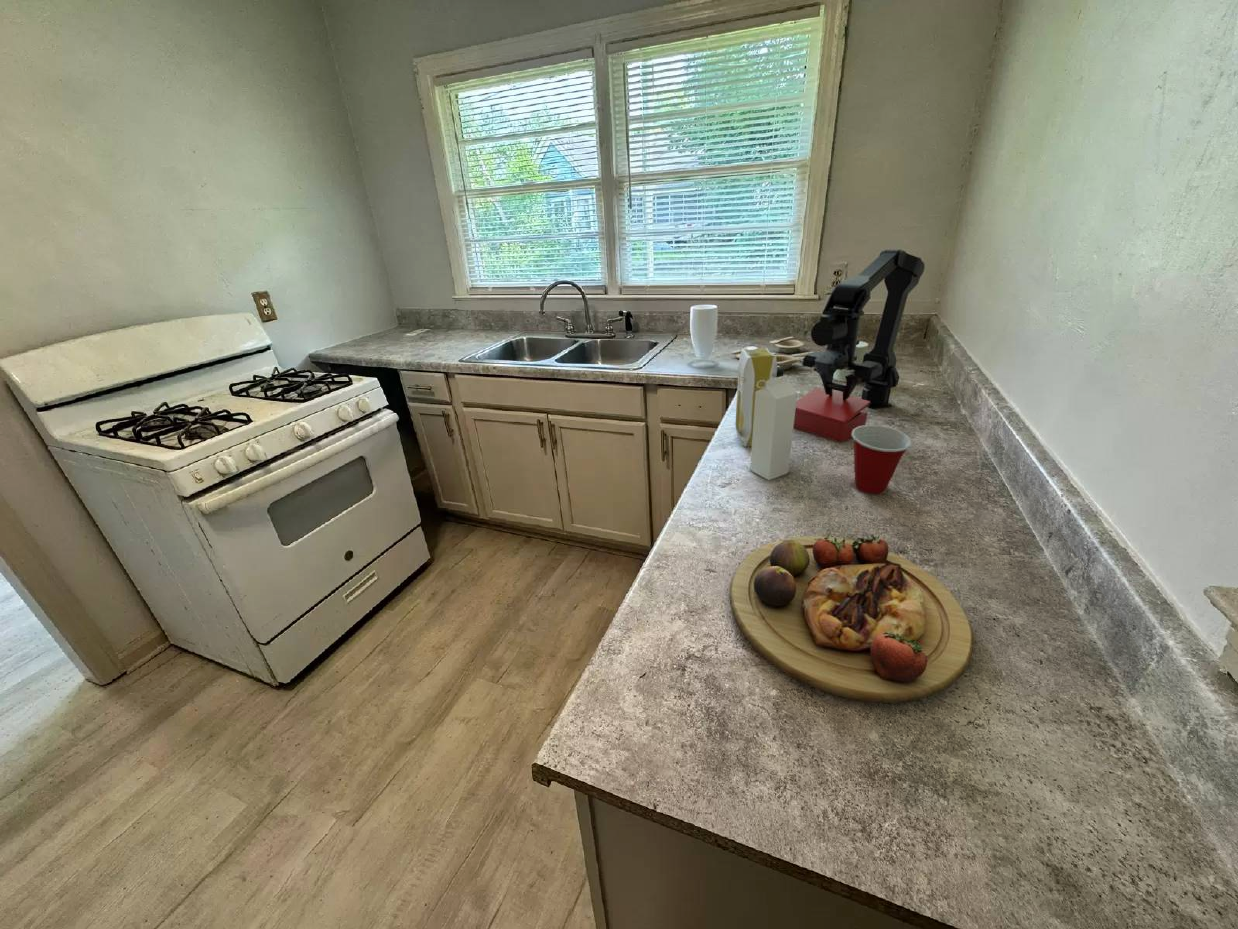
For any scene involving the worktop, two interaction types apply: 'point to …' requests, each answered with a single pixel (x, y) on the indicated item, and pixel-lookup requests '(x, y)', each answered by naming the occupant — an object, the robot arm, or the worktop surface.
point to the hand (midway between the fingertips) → (836, 396)
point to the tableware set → (786, 347)
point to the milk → (773, 428)
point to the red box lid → (831, 404)
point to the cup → (703, 329)
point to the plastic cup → (877, 456)
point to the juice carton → (751, 387)
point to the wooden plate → (851, 618)
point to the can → (859, 352)
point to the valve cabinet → (828, 425)
